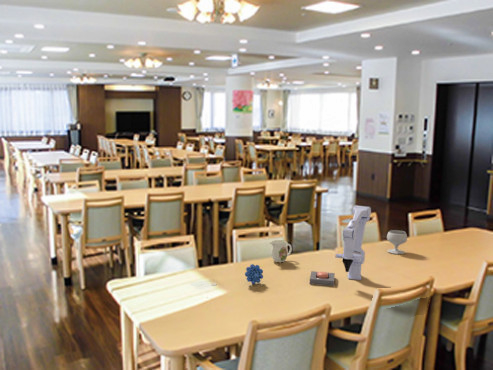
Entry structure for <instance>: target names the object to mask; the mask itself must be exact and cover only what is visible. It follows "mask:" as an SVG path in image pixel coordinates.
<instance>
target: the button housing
mask: <svg viewBox="0 0 493 370" xmlns="http://www.w3.org/2000/svg"><path fill="white" fill-rule="evenodd" d="M317 272H318V271H313V270H312V271H310V277H309V284H310V285H318V286H319V285H320V286H331V287H335V273H334V272H327V273H328V279H326V278H317Z"/></svg>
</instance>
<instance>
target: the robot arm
mask: <svg viewBox="0 0 493 370" xmlns="http://www.w3.org/2000/svg"><path fill="white" fill-rule="evenodd" d="M352 214H353V218H352V219H351V220H349V222H348V224H347V226H346V227H345V228H343V230H342V231H343V232H342V240H343V249H342V251H343V253H342V254H341V253H336V254H334V255H335V258H336V259H342V263H343V266H344V269H345V273H347V280H357V281H359V280H360V281H361V280H362V265H363V264H365V263H364V262H365V261H366V260H365V259H366V258H365V257H366V252H365V250H364V249H362V246H363V242H364V241H363V239H364V235H365V229H366V225H367V222H369V221H370V219H371V214H372V208H371V206H365V205H364V206H363V205H356V204H355V205H354V206H353V208H352Z"/></svg>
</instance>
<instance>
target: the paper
mask: <svg viewBox="0 0 493 370" xmlns="http://www.w3.org/2000/svg"><path fill="white" fill-rule="evenodd" d="M209 285H210V286H213V287H216V286H217V283H215V282H213V284H211V283H209ZM205 297H206V298H211V297H213V296H211V295H205Z"/></svg>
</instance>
